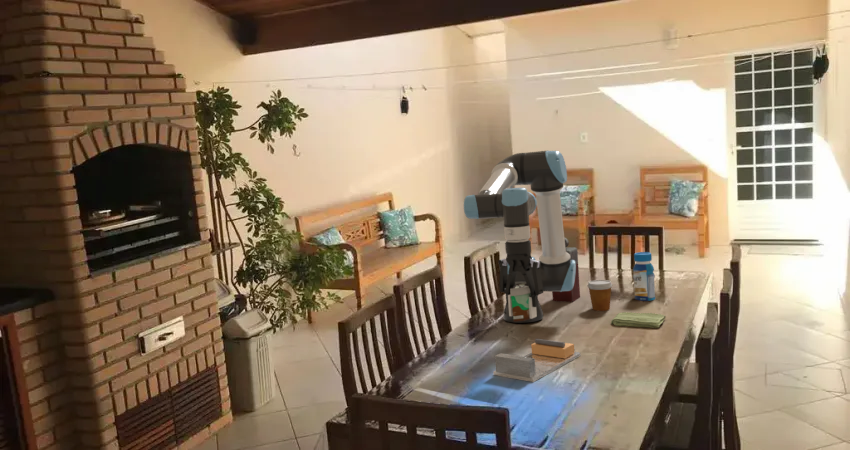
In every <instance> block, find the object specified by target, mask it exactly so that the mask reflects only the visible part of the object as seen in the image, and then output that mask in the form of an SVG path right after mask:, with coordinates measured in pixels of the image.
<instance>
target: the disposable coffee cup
mask: <svg viewBox="0 0 850 450" xmlns="http://www.w3.org/2000/svg"><path fill="white" fill-rule="evenodd" d="M587 283H588V284H587V288H588V293H589V297H590V303H591V309H592V310H593V311H597V312H603V311H604V312H605V311H609V310H610V308H611V298H612V297H611V296H612V287H613V284H612V282H611V280H607V279H595V280H590V281H588V282H587Z"/></svg>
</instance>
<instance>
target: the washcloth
mask: <svg viewBox="0 0 850 450" xmlns="http://www.w3.org/2000/svg"><path fill="white" fill-rule="evenodd" d="M665 319H666V315H664V314H662V313H655V312H653V313H652V312H641V313H640V312H626V311H624V312H618V313H617V314H616V316H615V317H613V318H612V319H611V320H610V323H611V324H610V325H613V326H615V327H631V328H633V327H634V328H653V329H659V328H660V326H661V324H663V322H664V320H665Z"/></svg>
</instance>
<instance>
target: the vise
mask: <svg viewBox="0 0 850 450" xmlns="http://www.w3.org/2000/svg"><path fill="white" fill-rule="evenodd" d="M581 353H582V352H579V351H574V354H572V355H571V356H569V357H567V358H558V357H552V356H545V355H538V354H532V352H530V353H528V354H526V355H524V356H522V355H521V356H520V355H515V354H507V353H501V352H500V353H498V354H496V355H494V363H495V364H494V365H495V370H493V373H492V374H493V376H498V377H503V378H509V379H515V380H521V381H527V382H531V383H535V382H536V381H538V380H540V379H542V378H544V377H546V376H547V375H549V374H551V373H552V372H555V370H558V369H560V368H562V367H563V366H565V365H567V364H569V363H570V362H572V361H574V360H576V359H577V358H579V357H581V355H582V354H581Z"/></svg>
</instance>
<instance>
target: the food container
mask: <svg viewBox="0 0 850 450" xmlns="http://www.w3.org/2000/svg"><path fill="white" fill-rule="evenodd" d="M530 293H531V292H530V288H529V287H528V286H527V284H526V282H515V286H514V287H513V289H510V296H511V302H512V311H513V320H514V322H517V321H524V320H528V319H530V314H529V297H530ZM514 322H513V323H514Z"/></svg>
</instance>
